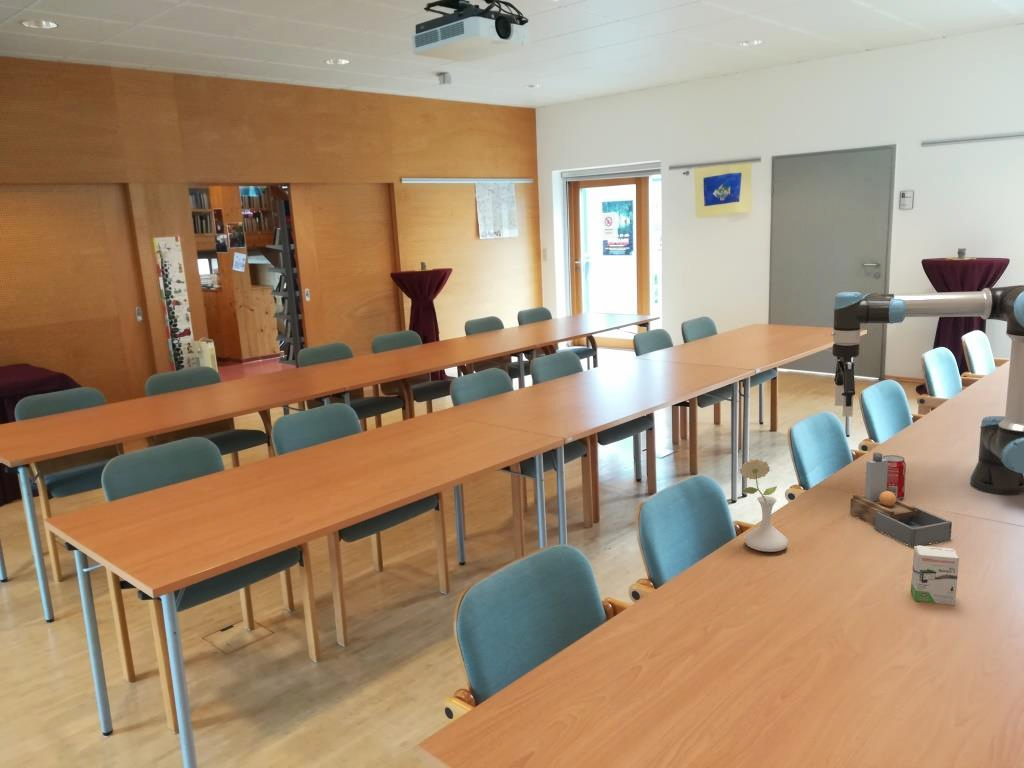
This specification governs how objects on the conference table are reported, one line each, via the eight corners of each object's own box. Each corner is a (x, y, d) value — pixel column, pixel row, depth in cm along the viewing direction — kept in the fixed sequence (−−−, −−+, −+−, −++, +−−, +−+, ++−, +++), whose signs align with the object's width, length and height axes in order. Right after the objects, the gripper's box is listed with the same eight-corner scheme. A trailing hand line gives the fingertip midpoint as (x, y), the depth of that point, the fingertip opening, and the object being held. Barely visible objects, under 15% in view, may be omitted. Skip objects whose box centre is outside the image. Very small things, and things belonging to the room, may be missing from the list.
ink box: (914, 601, 175) (917, 553, 172) (910, 591, 179) (913, 544, 177) (956, 605, 172) (960, 557, 170) (951, 595, 177) (954, 548, 174)
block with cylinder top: (864, 499, 223) (866, 454, 220) (880, 496, 225) (882, 451, 222) (870, 502, 221) (872, 456, 218) (886, 499, 222) (889, 453, 220)
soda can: (907, 501, 234) (909, 461, 231) (882, 501, 235) (884, 461, 233) (900, 493, 241) (902, 454, 238) (876, 493, 242) (878, 454, 239)
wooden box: (850, 514, 227) (850, 495, 225) (877, 509, 229) (878, 490, 228) (887, 532, 213) (888, 512, 211) (916, 527, 215) (917, 507, 214)
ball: (893, 503, 220) (894, 489, 219) (897, 509, 216) (898, 494, 215) (877, 502, 221) (878, 488, 220) (880, 508, 217) (881, 493, 216)
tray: (874, 528, 215) (875, 512, 214) (911, 522, 219) (912, 505, 218) (912, 547, 202) (913, 529, 201) (950, 539, 206) (951, 522, 205)
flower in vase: (790, 541, 210) (792, 455, 205) (785, 558, 200) (788, 468, 195) (741, 535, 215) (742, 451, 210) (734, 551, 205) (736, 463, 200)
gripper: (826, 337, 244) (824, 401, 248) (840, 350, 220) (837, 420, 225) (851, 336, 242) (848, 401, 247) (868, 349, 218) (864, 421, 223)
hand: (843, 410), depth 236 cm, fingers open, 13 cm apart
